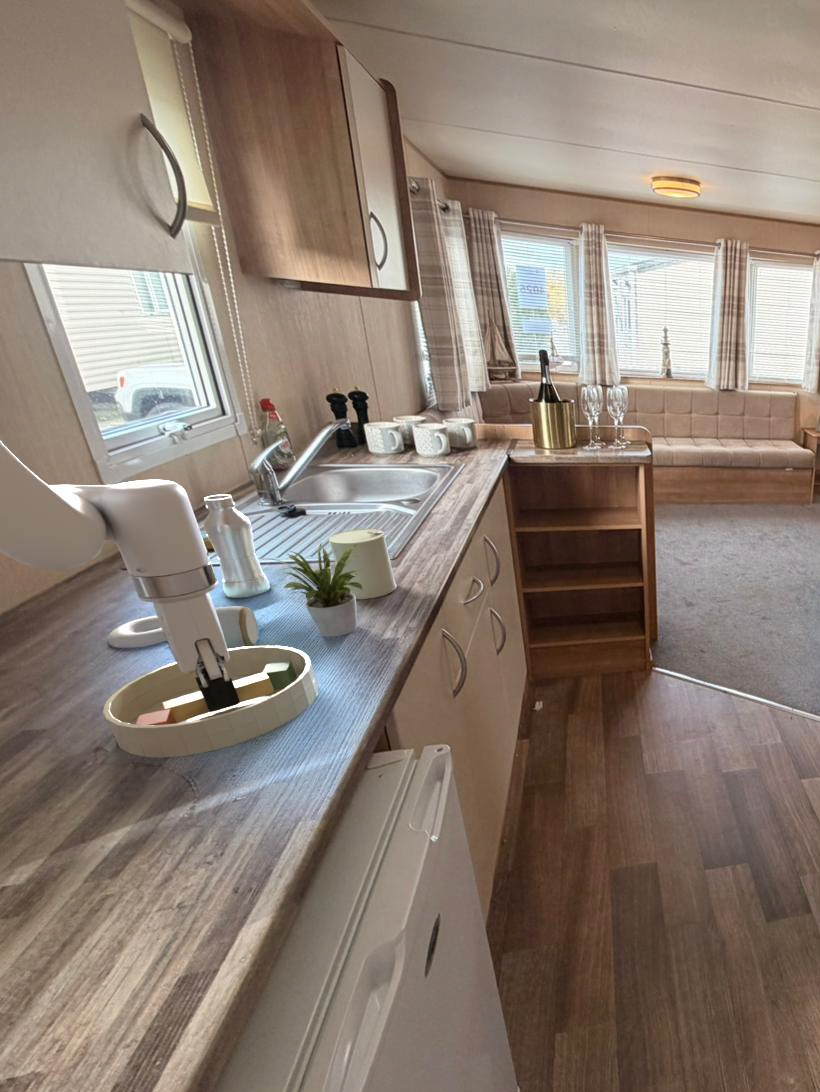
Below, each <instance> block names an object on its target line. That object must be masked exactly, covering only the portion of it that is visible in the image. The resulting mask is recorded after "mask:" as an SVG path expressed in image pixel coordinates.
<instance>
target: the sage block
mask: <svg viewBox="0 0 820 1092" xmlns="http://www.w3.org/2000/svg"><path fill="white" fill-rule="evenodd" d="M263 672H266V674H267V675H268V676H269V678H270V681H271V683H272V686H273V689H274V690H279V689H285V688H286V687H287V686H289V685H290V684H291V683H293V682H294V681H295V680H296V678H297V677H296V673H295V670H294V667H293V664H292V661H285V662H278V663H271V664H267V665H266V666H265V668H264V670H263ZM263 672H262V673H263Z"/></svg>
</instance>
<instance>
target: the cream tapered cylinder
mask: <svg viewBox="0 0 820 1092" xmlns="http://www.w3.org/2000/svg"><path fill="white" fill-rule="evenodd" d="M385 535H386V534H385V532H384V531H383V530H381V529H376V528H357V529H350V530H346V531H345V530H344V531H341V532H338V533H335V534H332V535H330V536H329V538H328V542H329V545H330V548H331V549H330V550H331V551H332V552H331V553H332V556H333V559H334V562H335V566H336V565H337V563H338V562H339V560H340V559H341V557H342V556H343V554H344V553H345V552H346V551H347V550H348V549H349V548H350V547H352V546H354V545H356V544H358V545H357V546H356V547H355V548H354V549H353V550H352V551H351V553H350V556H349V558H348V559H347V561H346V562H345V564H346V563H347V562H348V561H349V560H350V561H349V562H348V563H347V564H346V565H345V564H344V565H345V567H344V568H343V570H342V572H341V574H344V573H347V572H351V571H356V570H360V571H356V572H353V573H350V574H358V575H355V576H356V577H354V578H352V579H351V580H350V581H349V583H350V582H357V583H359V584H361V586H362V590H361V589H359V588H357V587H354V586H350V585H347V587H348V588H350V593H353V594H354V595H355V596H356V600H368V599H369V598H370V599H375V598H379V597H383V596H387V595H388V594H391V593H392V592H394V591H396V589H397V588H398V585H397V583H396V580H395V575H394V572H393V568H392V563H391V558H390V555H389V549H388V545H387V540H386V536H385ZM337 548H338V549H337ZM335 550H336V551H335ZM334 551H335V552H334ZM333 552H334V553H333ZM356 556H358V557H356ZM354 557H355V558H354ZM352 558H353V559H352ZM341 574H340V575H341ZM370 599H369V600H370Z"/></svg>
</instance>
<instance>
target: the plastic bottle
mask: <svg viewBox="0 0 820 1092" xmlns="http://www.w3.org/2000/svg"><path fill="white" fill-rule="evenodd" d="M203 499H204V503H205V508H206V509H207V510H209V513H208V514H207V516H206V517H205V520H204V522H203V530H204V532H205V535H206V537H207V539H208V540H209V542H210V544H211V545H212V547H213V550H214V552H215V555H216V557H217V561H218V562H219V567H220V572H221V576H222V588H223V592H224V594H225V595H226V597H227V598H232V599H240V598H241V599H242V598H248V597H249V598H250V597H254V596H258V595H262V594H264V593H266V592H268V591H269V590H270V588H271V586H270V584H271V583H270V582H269V579H268V577H267V576H266V574H265V572H264V571H263V568H262V566H261V563H260V561H259V558H258V556H257V552H256V548H255V544H254V543H255V542H254V535H253V525H252V522H251V521H250V520H249V518H248V517H247V516H246V515H244V514H243V512H241V511H239V510H237V509H236V508H235V507H236V503H235V501H234V499H233V496H232V495H231V494H215V495H209V496H206V497H204V498H203Z"/></svg>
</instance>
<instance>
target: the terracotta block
mask: <svg viewBox="0 0 820 1092" xmlns="http://www.w3.org/2000/svg"><path fill="white" fill-rule="evenodd" d="M166 724H177V723H176V720H175V718H174V716H173V713H172V711H171V709H168V710H163V711H158V712H153V713H148V714H143V715H139V717H138V720H137V722H136V725H166Z"/></svg>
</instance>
